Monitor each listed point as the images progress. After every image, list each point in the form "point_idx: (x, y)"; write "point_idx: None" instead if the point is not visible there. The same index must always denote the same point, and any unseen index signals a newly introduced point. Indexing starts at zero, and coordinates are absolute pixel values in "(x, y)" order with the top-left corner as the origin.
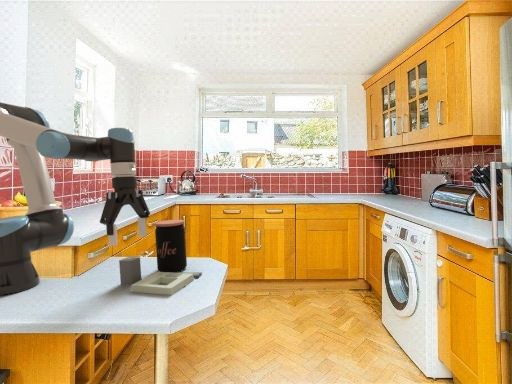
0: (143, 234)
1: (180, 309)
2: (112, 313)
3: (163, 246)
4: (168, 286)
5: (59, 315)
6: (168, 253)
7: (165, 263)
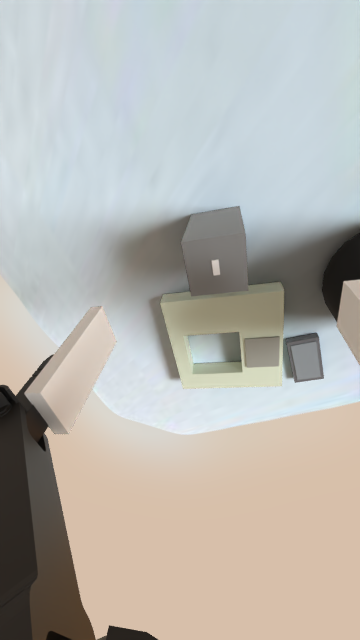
0: (344, 323)
1: (147, 412)
2: None
3: None
4: (188, 380)
5: (4, 252)
6: None
7: (330, 303)
